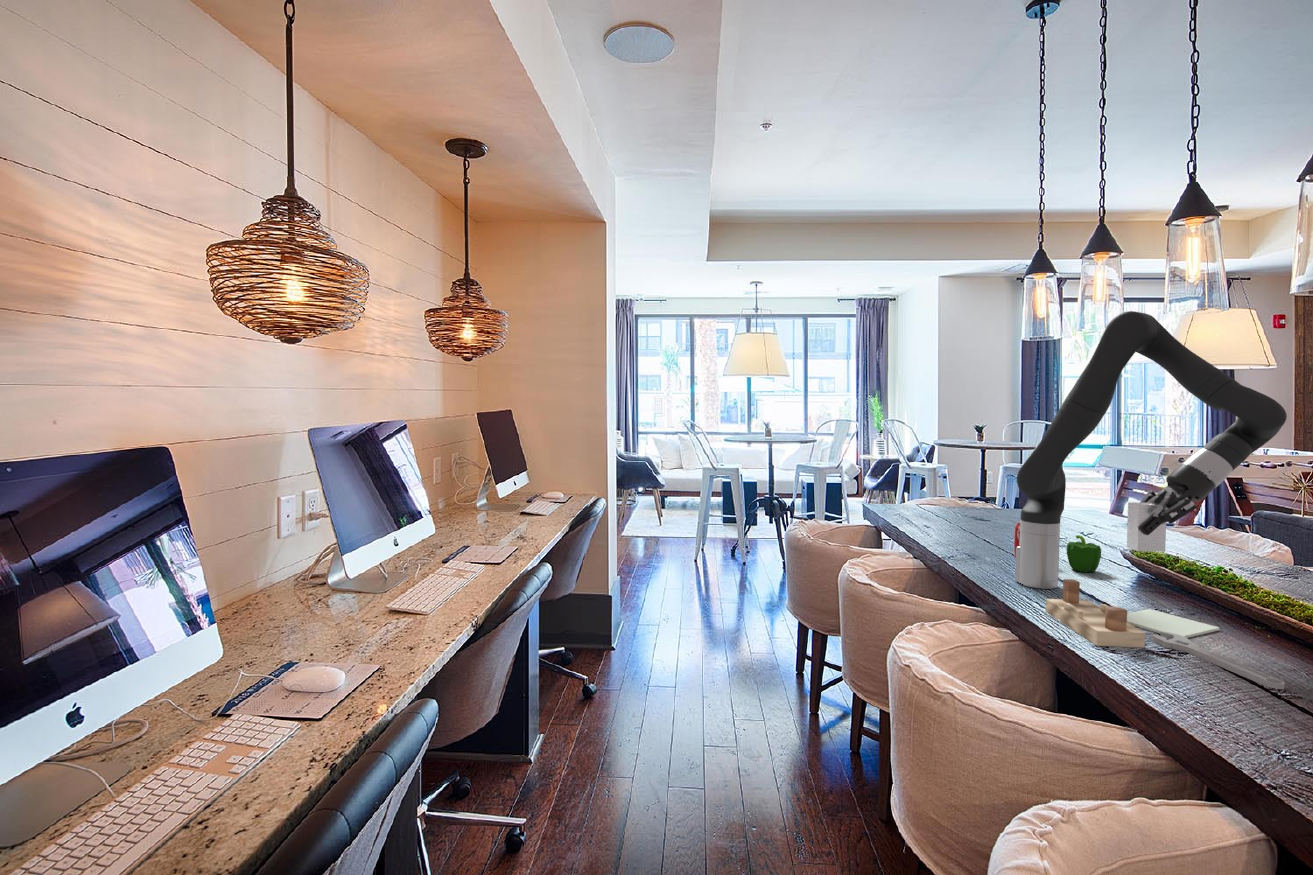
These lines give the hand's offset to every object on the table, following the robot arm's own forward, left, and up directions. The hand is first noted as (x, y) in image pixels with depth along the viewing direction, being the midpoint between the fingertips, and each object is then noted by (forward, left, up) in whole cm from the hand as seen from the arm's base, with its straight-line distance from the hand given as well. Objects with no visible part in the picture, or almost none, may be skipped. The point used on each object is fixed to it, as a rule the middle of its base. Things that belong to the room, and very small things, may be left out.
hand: (1136, 529), depth 145 cm
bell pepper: (-36, +37, -22) cm, 56 cm away
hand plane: (-3, -10, -21) cm, 24 cm away
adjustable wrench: (+18, -8, -22) cm, 29 cm away
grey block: (+1, +2, -4) cm, 5 cm away
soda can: (-51, +33, -21) cm, 64 cm away
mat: (+2, +7, -21) cm, 22 cm away
